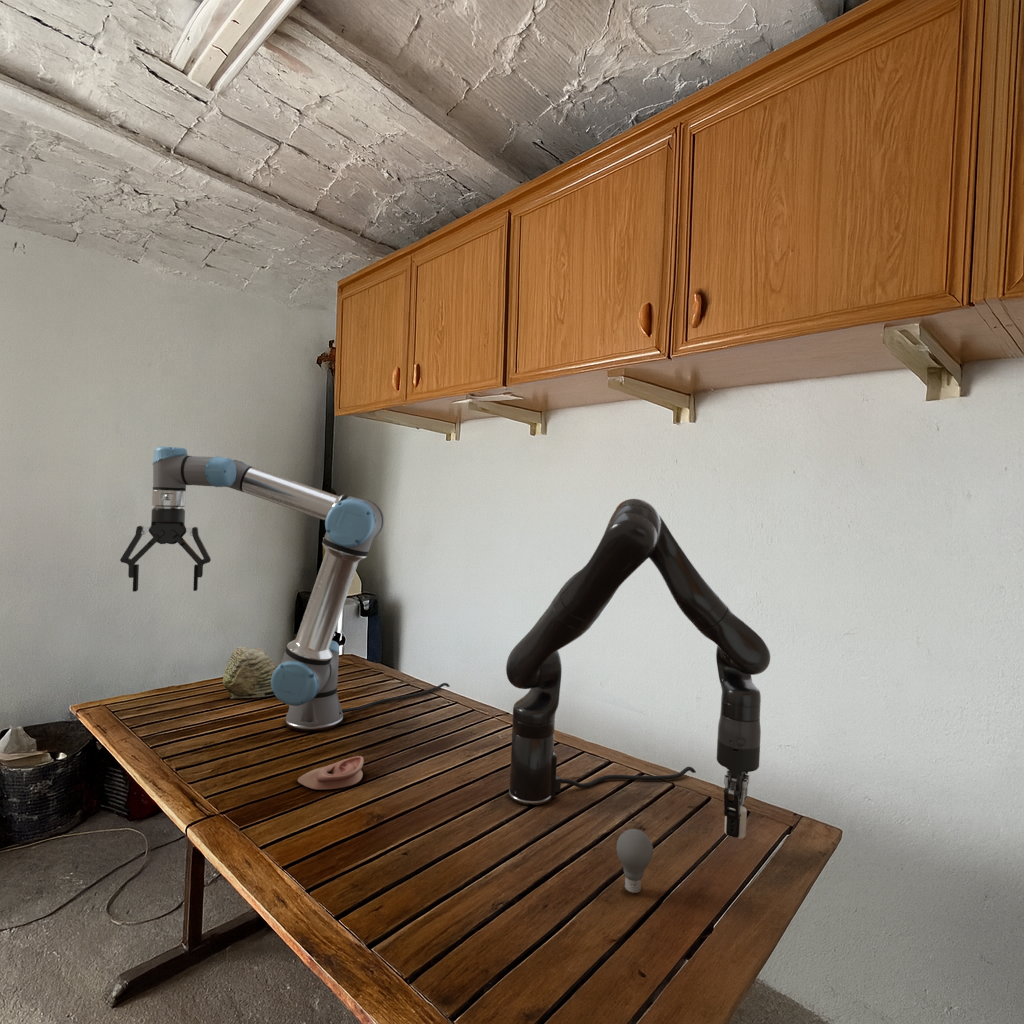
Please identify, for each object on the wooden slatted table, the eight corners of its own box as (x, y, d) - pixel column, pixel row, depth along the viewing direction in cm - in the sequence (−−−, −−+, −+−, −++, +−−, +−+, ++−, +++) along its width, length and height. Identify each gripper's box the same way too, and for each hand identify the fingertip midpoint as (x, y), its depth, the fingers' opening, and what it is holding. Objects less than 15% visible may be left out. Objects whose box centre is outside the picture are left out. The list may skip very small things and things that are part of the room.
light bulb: (610, 879, 108) (613, 822, 108) (644, 879, 109) (647, 822, 109) (619, 902, 102) (622, 840, 102) (655, 901, 103) (658, 840, 103)
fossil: (218, 695, 195) (220, 647, 195) (278, 685, 208) (279, 640, 207) (228, 703, 189) (230, 653, 188) (289, 692, 201) (290, 645, 201)
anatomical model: (290, 768, 137) (317, 748, 149) (290, 786, 138) (316, 764, 149) (347, 776, 135) (370, 755, 146) (346, 794, 135) (369, 772, 146)
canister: (723, 826, 121) (724, 802, 121) (744, 829, 120) (745, 805, 120) (725, 836, 117) (726, 811, 117) (746, 840, 116) (748, 814, 116)
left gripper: (108, 506, 154) (105, 593, 154) (221, 509, 163) (218, 591, 163) (115, 505, 161) (112, 588, 161) (222, 508, 170) (220, 587, 170)
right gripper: (724, 724, 126) (720, 810, 126) (710, 747, 114) (706, 842, 114) (764, 732, 123) (760, 820, 123) (755, 756, 110) (750, 854, 110)
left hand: (165, 590), depth 162 cm, fingers open, 13 cm apart
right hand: (734, 830), depth 118 cm, fingers closed on canister, 3 cm apart
